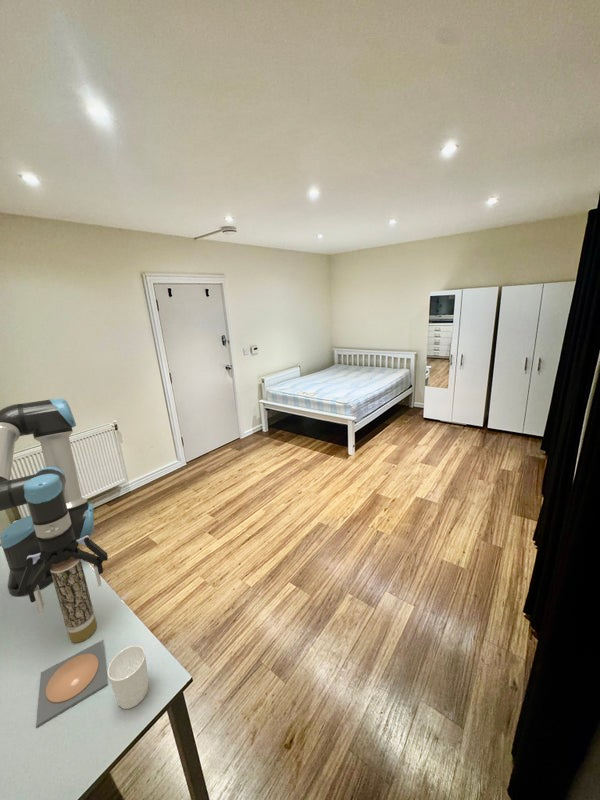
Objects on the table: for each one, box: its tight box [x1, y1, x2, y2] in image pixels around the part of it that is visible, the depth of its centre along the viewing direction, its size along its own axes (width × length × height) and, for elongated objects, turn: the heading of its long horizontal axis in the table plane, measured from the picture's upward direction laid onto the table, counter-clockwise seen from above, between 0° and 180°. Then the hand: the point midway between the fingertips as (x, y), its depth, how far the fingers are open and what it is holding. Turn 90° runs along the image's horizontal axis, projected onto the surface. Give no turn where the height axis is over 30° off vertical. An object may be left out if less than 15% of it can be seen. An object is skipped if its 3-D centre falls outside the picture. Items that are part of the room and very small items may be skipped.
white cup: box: [107, 645, 150, 710], centre depth 74 cm, size 8×8×10 cm
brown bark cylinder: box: [50, 557, 98, 644], centre depth 88 cm, size 7×7×25 cm
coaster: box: [35, 639, 109, 728], centre depth 79 cm, size 14×14×1 cm
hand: (71, 595), depth 88 cm, fingers open, 13 cm apart
